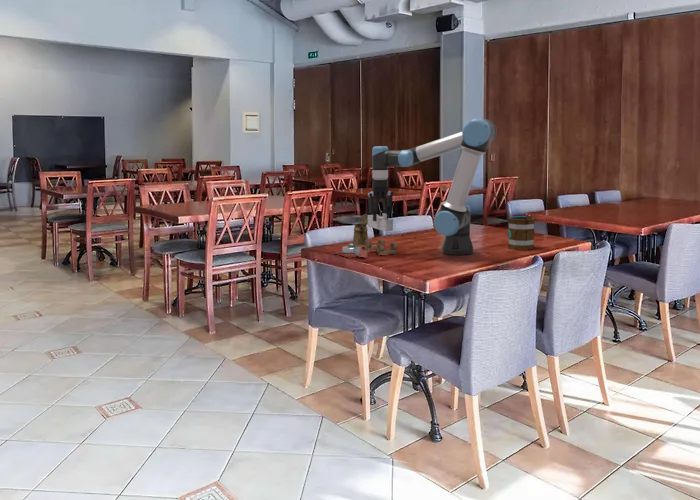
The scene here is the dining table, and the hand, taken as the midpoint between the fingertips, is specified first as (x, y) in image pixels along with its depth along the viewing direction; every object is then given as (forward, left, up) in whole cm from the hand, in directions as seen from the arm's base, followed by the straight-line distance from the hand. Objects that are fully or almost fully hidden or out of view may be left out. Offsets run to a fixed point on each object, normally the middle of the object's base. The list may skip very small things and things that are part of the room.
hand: (380, 227), depth 314 cm
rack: (0, 0, -12) cm, 12 cm away
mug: (-25, -65, -13) cm, 71 cm away
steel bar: (+1, 0, -1) cm, 1 cm away
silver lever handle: (-2, +15, -12) cm, 19 cm away
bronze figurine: (+19, 0, -13) cm, 23 cm away
